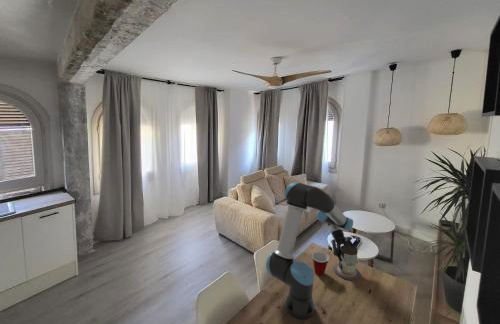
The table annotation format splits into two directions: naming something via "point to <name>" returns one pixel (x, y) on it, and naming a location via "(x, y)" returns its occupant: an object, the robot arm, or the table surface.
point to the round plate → (345, 275)
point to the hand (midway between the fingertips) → (351, 264)
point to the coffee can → (348, 259)
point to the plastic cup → (320, 262)
